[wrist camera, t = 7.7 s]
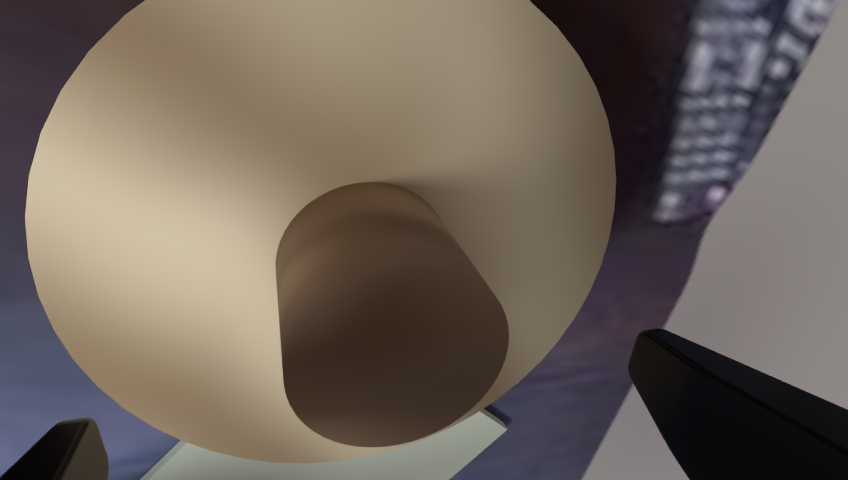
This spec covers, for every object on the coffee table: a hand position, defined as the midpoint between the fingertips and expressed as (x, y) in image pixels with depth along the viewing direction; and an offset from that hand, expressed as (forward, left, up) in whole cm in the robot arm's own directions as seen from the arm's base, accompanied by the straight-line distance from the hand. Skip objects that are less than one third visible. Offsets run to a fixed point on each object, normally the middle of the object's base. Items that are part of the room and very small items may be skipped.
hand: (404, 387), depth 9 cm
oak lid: (0, 0, -5) cm, 5 cm away
